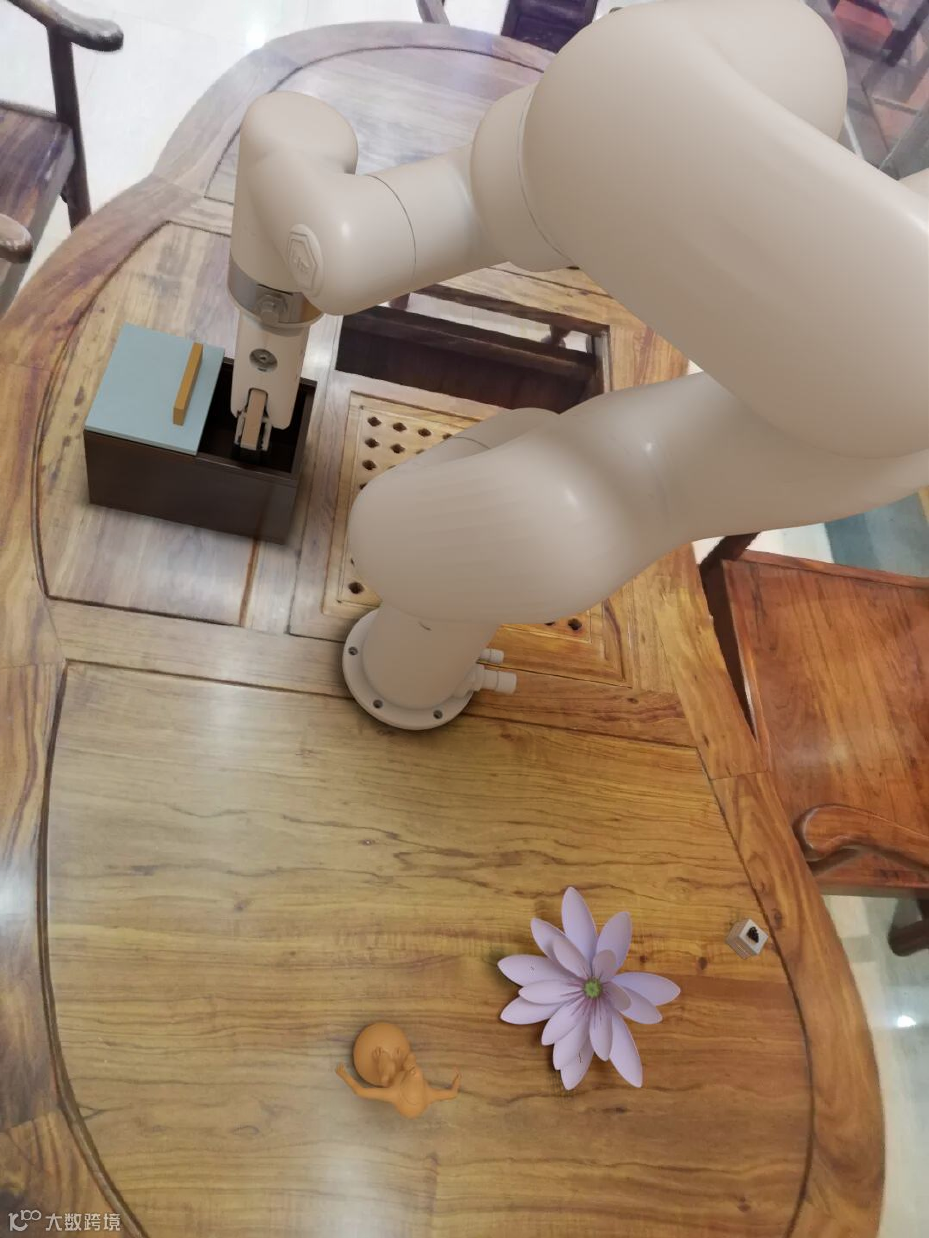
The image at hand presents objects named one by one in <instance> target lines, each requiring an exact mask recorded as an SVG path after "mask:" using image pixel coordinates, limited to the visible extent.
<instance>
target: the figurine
mask: <svg viewBox="0 0 929 1238" xmlns="http://www.w3.org/2000/svg"><path fill="white" fill-rule="evenodd" d="M352 1055H353V1063H354V1066H355V1069H356V1071H357V1073H358V1074H359V1076H360V1077H361V1078H362V1079H363V1080H364V1081H366V1082H367V1083H369V1084H372V1085H374V1086H382V1087H363V1086H362V1085H361V1084H360V1083H358V1082H357V1081H356V1080H355V1078H354V1077H353V1076H352V1075H350V1074H348V1073H347V1072H346V1067H347V1063H346V1062H345V1063H344V1065H342V1062H341V1061H340V1062H339V1065H338V1064H337V1065H336V1069H335V1070H334V1071H335V1074H336V1075H337V1076H338V1077H340V1078H342V1079H343V1081H344V1083H345V1084H346V1085H347V1086H348V1087H349V1088H350V1089H351V1090H352V1091H353V1093H354V1094H355V1095H356V1096H357V1097H359V1098H364V1099H370V1100H377V1101H378V1100H379V1101H384V1102H387V1103H390V1104H392V1106H393V1108H394V1109H395V1110H396V1112H397V1113H398V1114H399V1115H400V1116H401V1117H403V1118H405V1119H407V1120H408V1119H409V1120H413V1119H416V1118H419V1117H420V1116H421V1115H422V1114H423V1113H424V1112H425V1111H426V1109H427V1107H428V1106H429V1105H430V1104H434V1103H436V1102H442V1101H449V1100H453V1099H456V1098H457V1096H458V1093H459V1088H460V1085H461V1083H462V1078H463V1077H462V1073H461V1071H460V1068H459V1067H458V1066H457V1065H454V1066H453V1070H454V1071H455V1073H456V1076H455V1077H454V1079H453V1080H452V1085H451V1087H450V1089H448V1088H433V1087H432V1086H431V1085H430V1084H429V1082H428V1080H427V1079H426V1078H425V1076H424V1072H423V1071H422V1070H423V1069H422V1068H421V1067H419V1065H418V1063H417V1060H416V1054H415V1053H414V1052H413V1051H411V1046H410V1042H409V1039H408V1037H407V1035H406V1034H405V1032H404V1030H403V1029H401V1028H400V1027H399V1026H398V1025H396V1024H394V1023H392V1022H388V1021H379V1022H374V1023H372V1024H370V1025H368V1026H367V1027H365V1029H363V1030H362V1031H361V1032H360V1034H359V1035H358V1037H357V1038H356V1041H355V1043H354V1047H353V1054H352Z"/></svg>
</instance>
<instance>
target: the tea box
mask: <svg viewBox="0 0 929 1238" xmlns="http://www.w3.org/2000/svg"><path fill="white" fill-rule="evenodd" d="M233 369H234V358H232V357H228V356H224V358H223V362H222V365H221V369H220V373H219V376H218V380H217V383H216V387H215V390H214V394H213V398H212V401H211V405H210V408H209V412H208V415H207V419H206V422H205V426H204V430H203V433H202V437H201V440H200V444H199V447H198V451H197V454H196V455H192V454H187V453H183V452H179V451H175V450H171V449H166V448H162V447H158V446H154V445H149V444H145V443H141V442H137V441H132V440H128V439H124V438H120V437H115V436H111V435H107V434H103V433H98V432H94V431H90V430H86V429H85V427H84V428H83V431H82V434H83V448H84V456H85V458H84V459H85V467H86V468H85V469H86V478H87V479H86V480H87V489H88V499H89V500H88V501H89V503H90V504H93V505H98V506H102V507H107V508H110V509H111V508H112V509H117V510H121V511H125V512H130V513H135V514H140V515H143V516H148V517H153V518H157V519H163V520H166V521H167V520H168V521H171V522H177V523H181V524H186V525H190V526H196V527H200V528H204V529H209V530H213V531H218V532H224V533H227V534H232V535H237V536H241V537H245V538H250V539H251V538H252V539H254V540H260V541H264V542H269V543H273V544H279V545H285V542H286V539H287V533H288V529H289V526H290V521H291V517H292V512H293V508H294V504H295V499H296V495H297V490H298V486H299V482H300V475H301V471H302V465H303V460H304V455H305V450H306V444H307V439H308V433H309V429H310V428H309V427H310V424H311V423H310V422H311V417H312V413H313V407H314V402H315V397H316V391H317V387H318V381H317V380H314V379H311V378H306V377H303V376H300V381H299V386H298V390H297V395H296V399H295V404H294V408H293V413H292V417H291V421H290V424H289V426H288V427H286V428H285V429H280V428H275V427H273V425H272V428H271V433H270V439H269V442H272V445H271V451H270V457H269V462H268V468H265V467H261V466H256V465H252V464H248V463H244V462H240V461H235V460H231V452H232V443H233V436H234V433H235V434H236V430H237V424H238V418H239V416H237V418H236V417H235V416H234V415H233V413H232V412H231V395H232V381H233ZM265 424H266V423H262V422H261V427H260V432H259V435H261V436H263V435H264V430H265Z"/></svg>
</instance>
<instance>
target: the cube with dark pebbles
mask: <svg viewBox="0 0 929 1238" xmlns="http://www.w3.org/2000/svg"><path fill="white" fill-rule="evenodd" d="M741 921H742V922H741ZM740 923H741V924H740ZM738 926H739V927H738ZM737 928H738V929H737ZM735 931H736V932H735ZM734 933H735V934H734ZM733 935H734V936H733ZM732 936H733V937H732ZM731 938H732V939H733V940H734V941H735V942H736V943H737V944H738V945H740V947H741V948H742V949H743V950H745V952H746V953H748V955H750V956H751V957H755V956H758V955H759V954H760V952H761V951H762V949H763V947H764V946H765V943H766V942H767V939H768V938H769V935H768V934H767V933H766V932H764V931H763V930H762V929H761V928H760V927H759V926H758V925H757V924H756V923H755V922H754V921H753V920H752V919H751V918H746V919H743V920H740V921H736V922H735V923H734V924H733V926H732V928H731V929H730V931H729V933H728V934H727V936H726V937H725V940H724V942H725V943H726V944H727V945H728V946H729V947H730V948H731V949H732V950H733V951H734V952H735V953H736V954H737V955H738V956H739V957H741V958H742V960H744V959H747V958H750V957H749V956H748V955H747V954H746V953H745V952H744V951H743V950H742V949H741V948H740V947H739V946H738V945H737V944H736V943H735V942H734V941H733V940H732V939H731Z"/></svg>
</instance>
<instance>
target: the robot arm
mask: <svg viewBox="0 0 929 1238" xmlns="http://www.w3.org/2000/svg"><path fill="white" fill-rule="evenodd" d="M848 91H849V90H848V73H847V68H846V63H845V59H844V56H843V51H842V50H841V46H840V44H839V42H838V40H837V38H836V36H835V34H834V33H833V30H832V29H831V28H830V26H829V25H828V24H827V22H826V21H825V20H824V19H823V17H822V16H821V15H819V14H818V13H817V12H816V11H815V10H814V9H813V8H812V7H810V6H809V5H807V4H806V3H804V2H803V1H800V0H653V1H649V2H643V3H637V4H631V5H628V6H625V7H623V8H622V9H619V10H617V11H614V12H611V13H609V12H608V13H606V14H604V15H602V16H600V17H599V18H597V19H595V20H594V21H592V22H591V23H589V24H587V25H586V26H585V27H583V28H582V29H580V30H579V31H578V32H577V33H576V34H575V35H574V36H572V38H571V39H570V40H569V41H567V43H565V44H564V45H563V46H562V47H561V48H560V49H559V51H558V52H557V53H556V55H554V57H553V58H552V59H551V61H550V62H549V64H548V65H547V66H546V67H545V69H544V71H543V73H542V75H541V76H540V79H538V80H536V81H534V82H532V83H529V84H527V85H525V86H523V87H520V88H518V89H516V90H513V91H511V92H509V93H507V94H506V95H505V94H504V95H503V96H501V97H500V98H499V99H498V100H496V101H495V102H493V104H492V105H491V106H490V107H489V108H488V109H487V111H486V112H485V114H484V115H483V117H482V118H481V120H480V121H479V123H478V126H477V127H476V130H475V133H474V137H473V140H472V141H471V142H470V143H468V144H465V145H463V146H460V147H458V148H455V149H453V150H451V151H447V152H445V153H441V154H439V155H436V156H433V157H430V158H426V159H421V160H419V161H414V162H409V163H405V164H399V165H396V166H391V167H388V168H384V169H379V170H376V171H372V172H368V173H363V174H356V171H357V166H358V162H359V161H358V160H359V142H358V139H357V135H356V133H355V131H354V129H353V127H352V125H351V124H350V122H349V121H348V120H347V119H346V118H345V116H344V115H343V114H342V113H341V112H340V111H339V110H338V109H337V108H335V107H334V106H332V105H330V104H329V103H327V102H325V101H323V100H321V99H319V98H317V97H314V96H311V95H309V94H306V93H303V92H297V91H290V90H278V91H272V92H268V93H266V94H261V95H260V96H258V97H256V98H255V99H254V100H253V101H252V102H250V104H249V105H248V106H247V108H246V110H245V112H244V114H243V117H242V120H241V124H240V130H239V132H240V133H239V141H238V142H239V143H238V153H237V164H236V165H237V166H236V176H235V187H234V188H235V189H234V197H233V209H232V218H231V219H232V220H231V233H230V241H229V242H230V244H229V245H230V246H229V254H228V255H229V256H228V265H227V277H226V292H227V294H228V297H229V299H230V301H231V302H232V303H233V305H234V306H235V307H236V308H237V310H239V313H238V323H237V330H236V341H235V350H234V357H233V359H234V369H233V381H232V395H231V412H232V413H233V415H234V416H235V417H236V418H237V416H239V418H238V424H237V430H236V434H235V433H234V436H233V443H232V452H231V460H235V461H240V462H244V463H248V464H252V465H256V466H261V467H265V468H268V462H269V457H270V451H271V445H272V442H269V439H270V433H271V428H272V425H273V427H275V428H280V429H285V428H286V427H288V426H289V424H290V421H291V417H292V413H293V408H294V404H295V399H296V395H297V390H298V386H299V381H300V377H302V376H301V375H302V371H303V366H304V362H305V356H306V351H307V347H308V342H309V336H310V331H311V326H312V325H314V324H316V323H317V322H319V321H320V320H321V319H322V318H323V317H324V315H325V314H326V315H329V316H336V317H340V316H341V317H342V316H349V315H353V314H357V313H359V312H362V311H365V310H368V309H370V308H373V307H377V306H379V305H382V304H385V303H388V302H390V301H393V300H395V299H397V298H399V297H402V296H405V295H409V294H410V293H413V292H417V291H419V290H422V289H424V288H427V287H430V286H433V285H437V284H440V283H442V282H446V281H448V280H451V279H454V278H456V277H460V276H463V275H466V274H469V273H472V272H476V271H479V270H482V269H486V268H490V267H493V266H497V265H502V264H505V263H510V264H512V266H515V267H517V268H519V269H521V270H524V271H527V272H530V273H548V272H549V273H550V272H553V271H559V270H562V269H566V268H570V267H573V266H574V265H577V266H578V267H577V268H579V270H581V271H582V273H583V274H584V275H586V277H588V279H590V280H591V281H592V282H593V283H594V284H595V285H596V286H597V287H599V288H600V289H601V290H603V291H604V292H605V293H606V294H607V295H608V296H610V297H611V298H612V299H613V300H615V301H616V302H617V303H618V304H619V305H620V306H622V307H623V308H624V309H625V310H627V312H629V313H630V314H632V315H633V316H634V317H635V318H636V319H638V320H639V321H640V322H642V323H643V324H644V325H645V326H647V327H648V328H649V329H650V330H651V331H653V332H654V333H656V334H657V335H658V336H659V337H661V338H662V339H663V340H665V341H666V342H667V343H668V344H669V345H670V346H672V347H673V348H675V349H676V350H677V351H679V352H680V353H681V354H682V355H683V356H684V357H686V358H687V359H688V360H690V361H691V362H692V363H693V364H695V365H696V366H697V367H698V368H700V369H701V370H702V371H698V372H694V373H690V374H685V375H682V376H678V377H673V378H670V379H666V380H661V381H655V382H652V383H651V382H650V383H646V384H641V385H640V384H639V385H636V386H630V387H625V388H620V389H619V388H618V389H615V390H611V391H608V392H607V391H606V392H604V393H601V394H599V395H596V396H593V397H591V398H589V399H587V400H585V401H583V402H581V403H579V404H576V405H574V406H573V407H570V408H569V409H567V410H565V411H564V412H561V413H560V414H559V413H556V412H555V411H552V410H549V409H545V408H538V407H521V408H515V409H510V410H505V411H503V412H500V413H497V414H494V415H491V416H489V417H486V418H485V419H482V420H480V421H478V422H476V423H474V424H472V425H470V426H469V427H466V428H465V429H463V430H461V431H459V432H457V433H455V434H453V435H451V436H449V437H447V438H445V439H443V440H442V441H440V442H438V443H437V444H435V445H432V446H431V447H429V448H427V449H425V450H423V451H422V452H419V453H417V454H416V455H414V456H411V457H409V458H408V459H406V460H404V461H402V462H400V463H398V464H396V465H394V466H392V467H390V468H388V469H387V470H385V471H383V472H381V473H380V474H378V475H377V476H375V477H373V478H372V479H371V480H369V482H367V483H366V484H365V486H363V488H362V489H361V490H360V491H359V493H358V495H357V496H356V498H355V500H354V502H353V504H352V507H351V510H350V512H349V516H348V521H347V522H348V523H347V542H348V549H349V553H350V557H351V559H352V562H353V565H354V567H355V568H356V571H357V573H358V575H359V576H360V577H361V579H362V581H363V582H364V583H365V585H366V587H368V588H369V589H370V591H372V593H374V595H375V596H377V597H378V598H379V599H380V600H381V603H380V604H379V605H380V606H379V607H378V608H375V609H373V610H371V611H369V612H368V613H366V614H364V616H362V617H361V618H360V619H359V620H358V621H357V622H356V623H355V624H354V625H353V626H352V628H351V630H350V632H349V633H348V636H347V638H346V640H345V643H344V645H343V651H342V655H341V660H342V663H341V664H342V673H343V677H344V681H345V682H346V685H347V687H348V689H349V692H350V693H351V695H352V696H353V698H354V699H355V701H356V702H357V704H359V706H360V707H361V708H363V709H364V711H366V712H367V713H368V714H369V715H371V716H372V717H374V718H375V719H377V720H378V721H380V722H383V723H384V724H387V725H389V726H391V727H395V728H398V729H403V730H410V731H411V730H412V731H420V730H421V731H422V730H430V729H434V728H437V727H440V726H443V725H445V724H447V723H448V722H450V721H451V720H454V718H455V717H457V716H458V715H459V714H460V713H461V712H462V711H463V709H464V708H465V707H466V706H467V704H468V702H469V701H470V699H471V698H472V696H473V694H474V692H479V691H481V689H485V690H490V691H491V690H492V692H496V693H497V692H498V693H503V694H508V695H513V694H514V692H515V690H516V686H517V679H518V678H517V674H516V673H513V672H509V671H503V670H493V669H492V670H491V669H487V668H485V665H484V664H481V663H477V662H479V661H480V662H484V663H485V662H486V663H487V664H491V665H496V666H501V665H502V664H503V660H504V656H505V655H504V654H505V653H504V651H503V650H501V649H495V648H487V647H488V645H489V644H490V643H491V641H492V639H493V638H494V637H495V635H496V634H497V632H498V631H499V630H500V628H501V627H502V626H503V625H543V624H550V623H555V622H559V621H562V620H566V619H567V620H568V619H569V618H572V617H575V616H578V615H581V614H583V613H585V612H588V611H589V610H591V609H593V608H594V607H596V606H598V605H599V604H602V603H603V602H605V601H606V600H608V599H609V598H611V597H612V596H614V595H615V594H616V593H617V592H618V591H620V590H621V589H622V588H624V587H625V586H626V585H628V583H630V582H631V581H633V580H634V579H636V578H637V577H639V575H641V574H642V573H643V572H645V571H646V570H647V569H648V568H650V567H651V566H652V565H653V564H655V563H656V562H658V561H659V560H661V559H662V558H664V557H665V556H667V555H668V554H670V553H671V552H673V551H674V550H677V549H678V548H680V547H682V546H684V545H685V546H686V545H687V544H690V543H693V542H699V541H703V540H707V539H715V538H720V537H728V536H729V537H730V536H740V535H748V534H757V533H762V532H768V531H769V532H770V531H775V530H784V529H791V528H799V527H807V526H813V525H818V524H823V523H830V522H833V521H837V520H842V519H845V518H846V519H847V518H850V517H853V516H857V515H860V514H863V513H867V512H870V511H873V510H877V509H879V508H883V507H885V506H888V505H890V504H892V503H895V502H897V501H900V500H903V499H905V498H907V497H910V496H912V495H914V494H916V493H918V492H920V491H923V490H924V489H926V488H928V487H929V167H927V168H924V169H922V170H919V171H917V172H914V173H911V174H910V175H908V176H905V177H903V178H900V179H898V180H896V179H895V178H893V177H891V176H890V175H889V174H887V173H885V172H883V171H881V169H879V168H877V167H875V166H874V165H873V164H871V163H869V162H868V161H866V160H864V159H863V158H862V157H860V156H859V155H857V154H855V153H854V152H853V151H851V150H850V149H848V148H847V147H845V146H844V145H843V144H841V143H839V142H838V140H839V137H840V134H841V131H842V127H843V125H844V123H845V122H844V121H845V117H846V111H847V104H848ZM261 422H262V423H266V424H265V430H264V435H263V436H261V435H259V432H260V427H261Z"/></svg>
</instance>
